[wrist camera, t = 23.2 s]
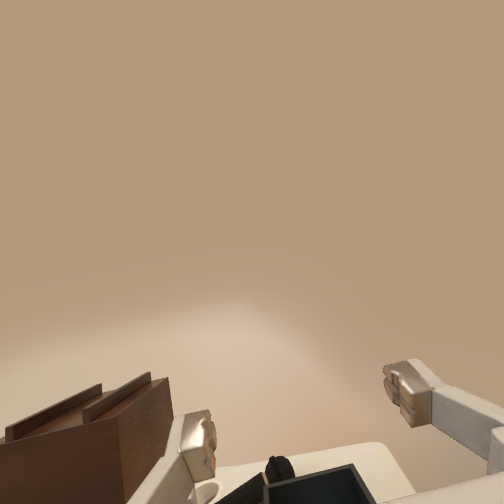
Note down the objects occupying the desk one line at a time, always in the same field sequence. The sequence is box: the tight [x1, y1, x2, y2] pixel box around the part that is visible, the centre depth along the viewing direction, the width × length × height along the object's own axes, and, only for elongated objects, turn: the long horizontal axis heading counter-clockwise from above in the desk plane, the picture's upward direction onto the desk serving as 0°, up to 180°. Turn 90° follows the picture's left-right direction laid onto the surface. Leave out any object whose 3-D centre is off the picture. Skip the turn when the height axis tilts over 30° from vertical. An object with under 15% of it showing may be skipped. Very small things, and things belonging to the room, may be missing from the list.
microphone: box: [215, 456, 295, 504], centre depth 39 cm, size 6×6×20 cm
